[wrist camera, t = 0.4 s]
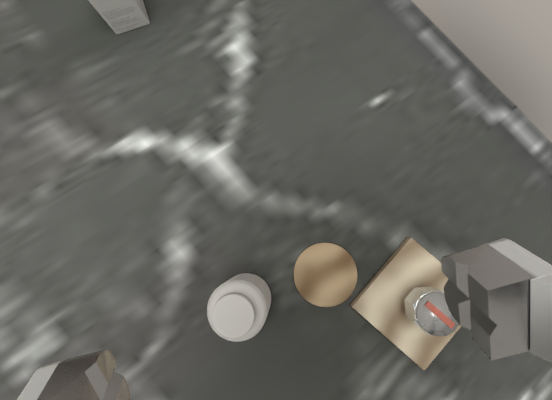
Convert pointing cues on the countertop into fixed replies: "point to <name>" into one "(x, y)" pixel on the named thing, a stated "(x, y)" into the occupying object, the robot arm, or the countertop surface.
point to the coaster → (325, 274)
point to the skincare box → (122, 14)
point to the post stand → (390, 301)
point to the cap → (430, 311)
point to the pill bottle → (239, 307)
